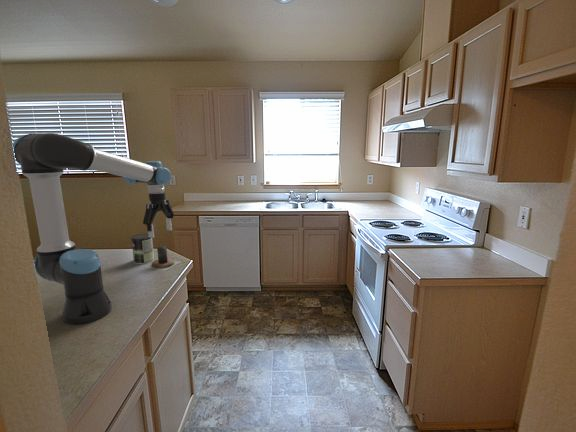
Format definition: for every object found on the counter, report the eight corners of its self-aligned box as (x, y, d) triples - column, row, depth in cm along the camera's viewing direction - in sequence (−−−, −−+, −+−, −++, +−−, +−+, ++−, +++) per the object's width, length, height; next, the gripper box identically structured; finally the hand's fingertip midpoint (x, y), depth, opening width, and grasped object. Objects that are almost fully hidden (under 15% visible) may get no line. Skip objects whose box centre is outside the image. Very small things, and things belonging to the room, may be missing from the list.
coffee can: (133, 265, 161) (130, 239, 158) (133, 259, 170) (131, 234, 167) (154, 262, 166) (152, 237, 163) (154, 256, 175) (151, 232, 172)
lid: (165, 269, 155) (163, 251, 153) (147, 267, 158) (145, 249, 156) (178, 261, 166) (177, 245, 164) (161, 259, 169) (160, 243, 167)
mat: (165, 271, 154) (165, 270, 154) (144, 268, 158) (144, 267, 158) (181, 262, 166) (181, 261, 166) (161, 259, 170) (161, 258, 170)
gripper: (144, 196, 141) (149, 241, 146) (178, 189, 164) (182, 228, 169) (131, 196, 143) (136, 239, 148) (166, 188, 167) (170, 227, 171)
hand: (160, 233), depth 159 cm, fingers open, 13 cm apart
